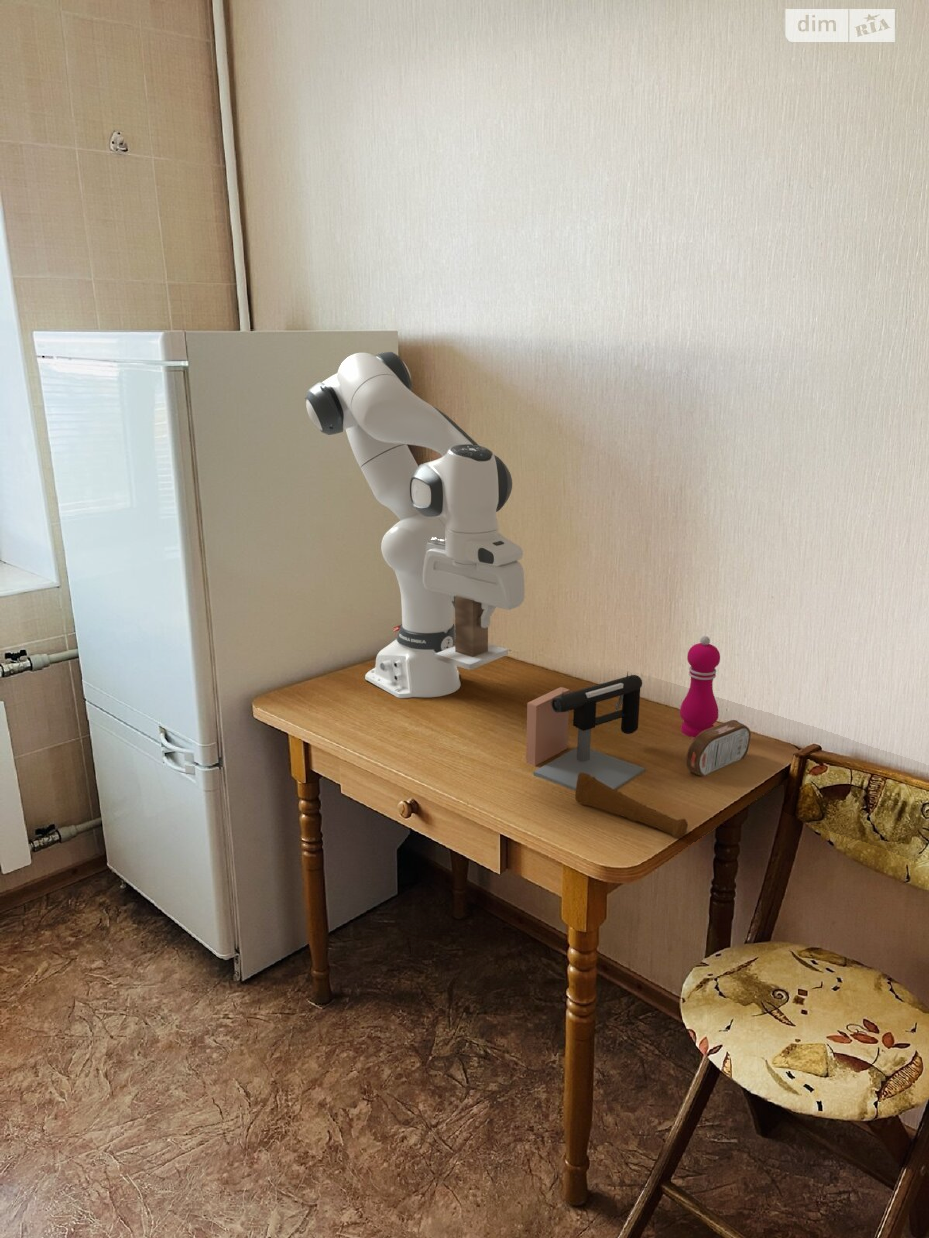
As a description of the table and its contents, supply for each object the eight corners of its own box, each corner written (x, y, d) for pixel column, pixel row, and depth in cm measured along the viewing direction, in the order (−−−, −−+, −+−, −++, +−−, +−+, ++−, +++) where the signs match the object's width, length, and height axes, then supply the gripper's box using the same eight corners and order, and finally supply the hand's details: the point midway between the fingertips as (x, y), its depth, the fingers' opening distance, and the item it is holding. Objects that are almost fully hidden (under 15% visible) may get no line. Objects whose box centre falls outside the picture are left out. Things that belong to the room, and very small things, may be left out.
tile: (525, 763, 167) (526, 702, 164) (558, 745, 174) (560, 686, 171) (534, 767, 166) (536, 705, 162) (567, 748, 173) (569, 689, 169)
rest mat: (533, 776, 163) (533, 771, 162) (579, 750, 173) (579, 745, 172) (600, 802, 154) (600, 797, 153) (644, 773, 164) (644, 768, 163)
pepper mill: (705, 745, 174) (714, 645, 168) (671, 734, 179) (678, 637, 173) (723, 732, 179) (732, 635, 173) (689, 722, 184) (696, 627, 178)
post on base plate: (435, 659, 159) (434, 598, 156) (473, 644, 166) (473, 585, 163) (469, 670, 154) (469, 607, 151) (507, 654, 161) (508, 594, 158)
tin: (737, 755, 170) (741, 713, 168) (751, 761, 168) (755, 718, 165) (683, 778, 162) (686, 734, 159) (697, 785, 160) (700, 741, 157)
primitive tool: (575, 799, 153) (566, 807, 150) (579, 769, 151) (569, 777, 148) (687, 837, 143) (680, 846, 141) (692, 805, 142) (685, 814, 139)
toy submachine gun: (548, 772, 165) (550, 688, 160) (630, 744, 176) (634, 665, 171) (560, 779, 162) (563, 695, 157) (642, 751, 173) (647, 671, 168)
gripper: (414, 538, 158) (415, 615, 163) (506, 557, 145) (505, 640, 150) (439, 532, 163) (439, 607, 167) (531, 550, 150) (529, 631, 154)
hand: (471, 623), depth 158 cm, fingers closed on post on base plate, 4 cm apart
